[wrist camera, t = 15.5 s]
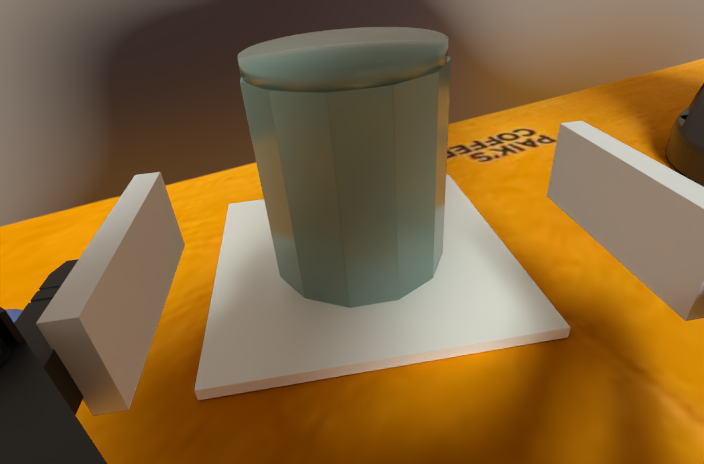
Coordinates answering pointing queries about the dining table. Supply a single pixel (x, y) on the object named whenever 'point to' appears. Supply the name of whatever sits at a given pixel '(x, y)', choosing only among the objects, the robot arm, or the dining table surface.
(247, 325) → the board
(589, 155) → the robot arm
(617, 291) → the dining table surface
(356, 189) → the lidded green canister
